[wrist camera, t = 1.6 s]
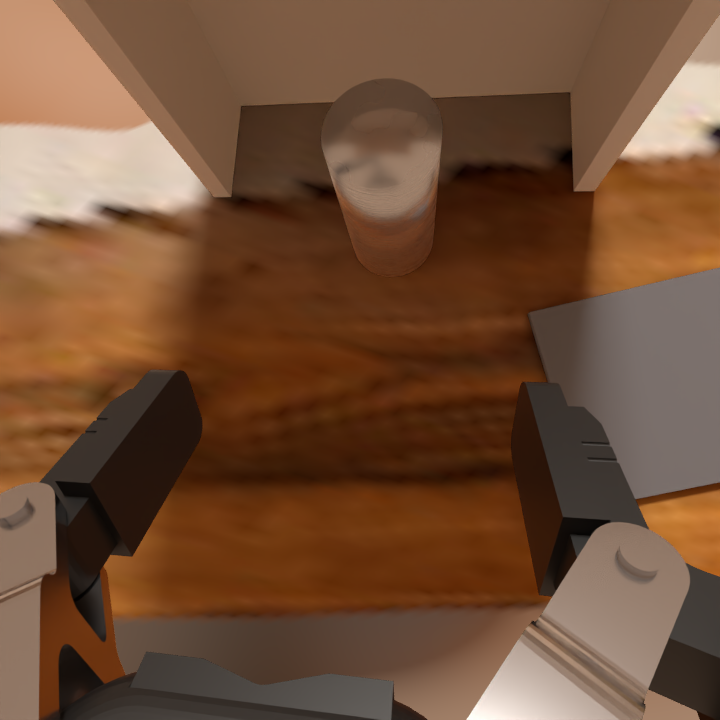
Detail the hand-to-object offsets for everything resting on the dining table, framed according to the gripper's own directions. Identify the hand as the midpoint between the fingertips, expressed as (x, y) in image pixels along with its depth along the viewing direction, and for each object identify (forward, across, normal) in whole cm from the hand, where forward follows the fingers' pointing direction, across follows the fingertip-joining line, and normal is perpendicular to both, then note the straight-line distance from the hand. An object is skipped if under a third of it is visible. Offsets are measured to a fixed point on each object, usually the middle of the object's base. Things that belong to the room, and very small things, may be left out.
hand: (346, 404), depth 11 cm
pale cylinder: (+19, 0, +3) cm, 20 cm away
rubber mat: (+13, -14, +9) cm, 22 cm away
